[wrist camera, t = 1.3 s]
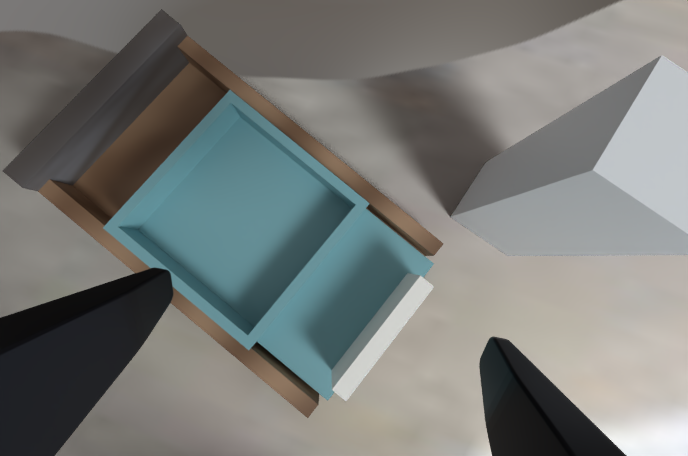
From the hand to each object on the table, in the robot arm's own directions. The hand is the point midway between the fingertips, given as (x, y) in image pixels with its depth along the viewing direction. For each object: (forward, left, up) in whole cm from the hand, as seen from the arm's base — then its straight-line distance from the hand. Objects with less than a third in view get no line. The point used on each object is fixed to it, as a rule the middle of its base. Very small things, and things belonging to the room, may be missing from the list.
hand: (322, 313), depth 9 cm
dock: (+7, 0, -13) cm, 15 cm away
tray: (+4, 0, -13) cm, 14 cm away
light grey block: (-6, -12, -14) cm, 19 cm away
